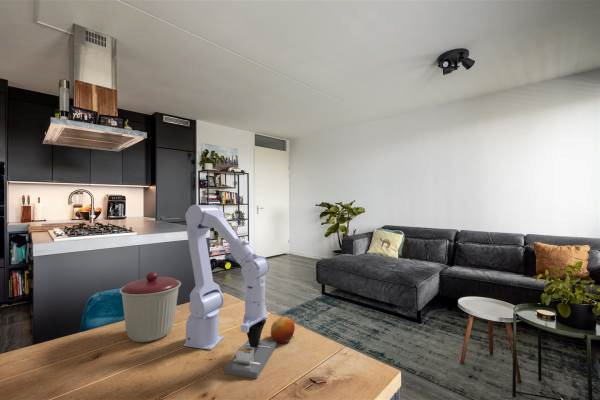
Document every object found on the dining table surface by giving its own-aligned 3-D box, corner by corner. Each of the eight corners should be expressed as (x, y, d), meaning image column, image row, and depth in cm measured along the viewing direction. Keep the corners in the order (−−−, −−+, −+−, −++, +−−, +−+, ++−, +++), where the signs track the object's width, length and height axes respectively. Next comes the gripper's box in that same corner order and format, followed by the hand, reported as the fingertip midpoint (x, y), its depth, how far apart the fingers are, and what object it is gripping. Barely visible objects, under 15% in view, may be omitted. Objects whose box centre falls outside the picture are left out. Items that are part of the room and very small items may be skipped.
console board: (224, 373, 70) (224, 364, 70) (249, 342, 86) (249, 335, 86) (257, 378, 68) (257, 369, 68) (276, 346, 84) (276, 339, 84)
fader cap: (235, 364, 71) (236, 350, 71) (239, 359, 74) (240, 346, 74) (250, 367, 70) (250, 352, 70) (253, 361, 73) (253, 348, 73)
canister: (190, 325, 98) (191, 267, 99) (155, 352, 80) (157, 281, 81) (146, 321, 101) (147, 265, 102) (103, 345, 84) (105, 277, 84)
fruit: (297, 342, 84) (284, 319, 85) (276, 353, 85) (264, 330, 86) (302, 330, 92) (290, 309, 93) (283, 340, 93) (271, 319, 94)
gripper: (258, 310, 71) (257, 362, 70) (275, 292, 85) (275, 336, 85) (233, 307, 72) (233, 358, 72) (254, 290, 86) (254, 333, 86)
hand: (254, 346), depth 78 cm, fingers closed
